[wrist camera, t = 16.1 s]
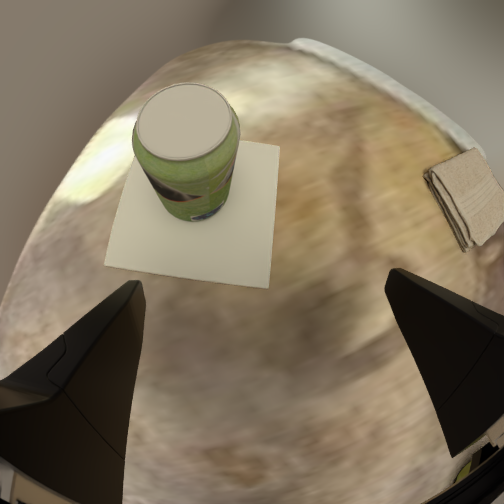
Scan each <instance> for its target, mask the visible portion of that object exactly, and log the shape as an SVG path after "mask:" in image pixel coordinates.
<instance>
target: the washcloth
mask: <svg viewBox="0 0 504 504" xmlns="http://www.w3.org/2000/svg"><path fill="white" fill-rule="evenodd" d="M423 178H424V179H426V180H427V181H428V185H429V187H430V190H431V193H432V195H433V197H434V198H435V200H436V202H437V204H438V206H439V207H440V209H441V211H442V212H443V214H444V215H445V217H446V219H447V221H448V223H449V225H450V227H451V229H452V231H453V233H454V235H455V237H456V239H457V241H458V243H459V245H460V247H461V248H462V250H463V251H464V252H465V253H467V252H468V251H470V249H471V248H473V247H474V245H478V246H481V245H483V243H484V242H485V241H486V240H487V239H489V238H490V237H491V236H492V235H494V234H495V233H496V230H497V229H498V227H499V226H500V225H501V223H502V222H503V221H504V191H503V190H502V188H501V187H500V186H499V184H498V183H497V181H496V180H495V178H494V176H493V175H492V171H491V170H490V168H489V166H488V165H487V163H486V161H485V160H484V158H483V156H482V155H481V153H480V152H479V151H478V149H477V148H475V147H473V148H472V149H470V150H468V151H465V152H464V153H462V154H458V155H457V156H455V157H454V158H453V157H452V158H451V159H450V160H447V161H445V162H442V163H441V164H440V163H439V164H437V165H435V166H433V167H432V168H430V170H429V173H425V174H424V175H423Z"/></svg>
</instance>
